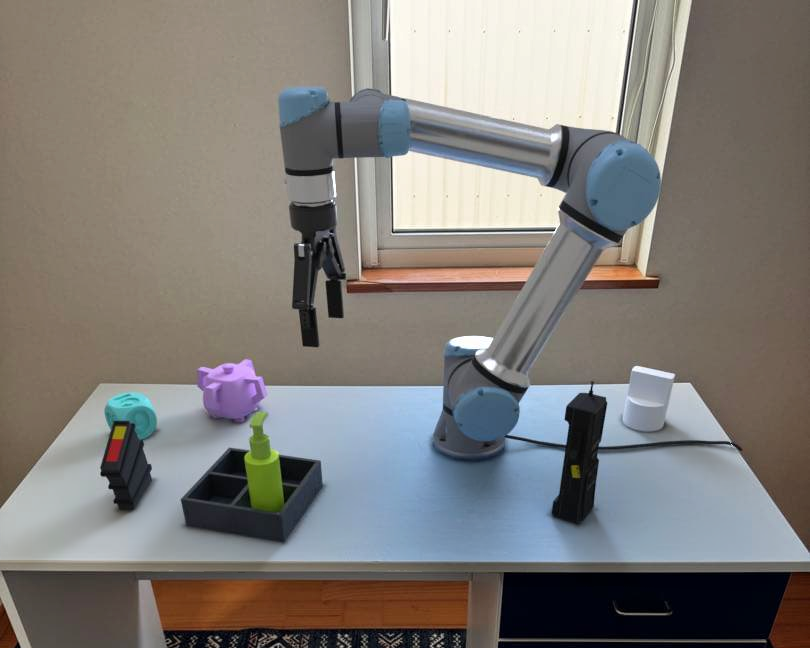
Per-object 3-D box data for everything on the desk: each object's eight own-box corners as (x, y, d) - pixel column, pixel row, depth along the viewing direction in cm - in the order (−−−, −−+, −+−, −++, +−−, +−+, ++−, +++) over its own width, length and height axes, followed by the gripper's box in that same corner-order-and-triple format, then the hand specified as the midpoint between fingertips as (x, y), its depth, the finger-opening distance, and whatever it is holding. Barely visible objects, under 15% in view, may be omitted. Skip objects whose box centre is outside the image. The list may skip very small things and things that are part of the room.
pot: (223, 390, 184) (216, 344, 177) (287, 402, 179) (282, 355, 172) (180, 423, 170) (171, 375, 163) (248, 436, 165) (241, 387, 158)
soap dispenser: (290, 506, 141) (279, 410, 129) (281, 528, 136) (269, 429, 124) (259, 505, 142) (245, 408, 130) (249, 526, 136) (234, 427, 124)
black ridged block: (158, 464, 152) (132, 419, 139) (144, 521, 146) (115, 479, 133) (139, 464, 152) (112, 418, 139) (125, 520, 146) (94, 479, 133)
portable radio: (579, 528, 137) (600, 403, 122) (548, 518, 140) (565, 394, 125) (594, 508, 142) (616, 385, 127) (564, 498, 145) (582, 377, 130)
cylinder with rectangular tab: (617, 425, 169) (626, 375, 162) (630, 409, 175) (639, 360, 168) (656, 435, 165) (668, 384, 158) (668, 418, 171) (680, 369, 164)
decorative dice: (141, 421, 171) (134, 388, 166) (160, 433, 166) (153, 400, 162) (109, 433, 166) (100, 400, 162) (127, 445, 162) (118, 412, 157)
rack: (322, 485, 149) (320, 460, 145) (284, 542, 134) (281, 515, 130) (233, 472, 153) (229, 447, 150) (186, 525, 138) (180, 499, 135)
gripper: (315, 183, 129) (326, 305, 142) (259, 220, 110) (277, 357, 123) (357, 184, 128) (364, 307, 141) (307, 222, 109) (321, 361, 121)
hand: (324, 331), depth 132 cm, fingers open, 13 cm apart
